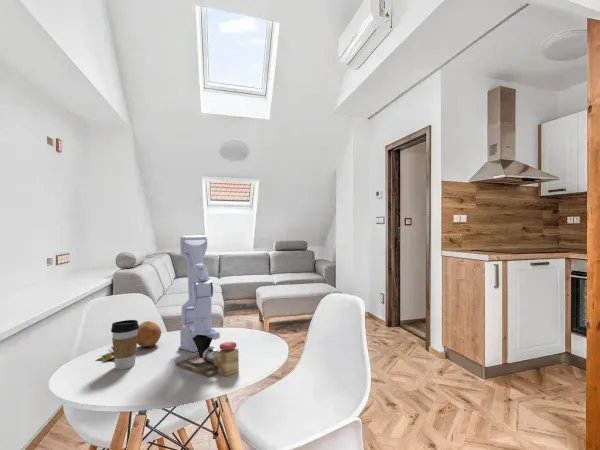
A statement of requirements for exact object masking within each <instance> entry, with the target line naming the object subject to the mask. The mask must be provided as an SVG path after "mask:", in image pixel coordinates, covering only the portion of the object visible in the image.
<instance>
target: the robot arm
mask: <svg viewBox="0 0 600 450" xmlns="http://www.w3.org/2000/svg"><path fill="white" fill-rule="evenodd" d="M179 239H180V240H179V242H180V243H179V245H180V255H181V258H183V259H185V261H186V264H187V267H186V268H187V286H188V287H187V289H188V290H187V292H188V293H187V294H188V299H187V301H185V302H184V303H183V304H182V306H181V315H180V317H181V319H180V320H181V324H182V326H181V329H180V337H179V338H180V340H179V341H180V346H178V348H179V349H182V350H185V351H188V352H191V353H195V352H198V353H197V354H199V356H200V358H202V355H203V351H204V350H205V349H206V348H207V347H209V346H211V343H212V342H213V340H215V341H216V340H218V339H220V336H221V334H220V332H219V331H217V330H215V329H213V327H212V319H213V317H212V298H213V296H214V285H213V281H212V279H211V278H210V276H209V270H208V267H207V265H205V264H204V257H205V255H206V252H207V250H208V237H207V236H206V235H205V234H202V235H182V236H181V237H180V238H179Z"/></svg>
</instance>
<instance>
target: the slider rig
mask: <svg viewBox="0 0 600 450" xmlns="http://www.w3.org/2000/svg"><path fill="white" fill-rule="evenodd" d="M219 349H223V350H220V351H218V353H217V354H216V355H215V357H214V361H213V362H214V363H211V362H209V363H208V362H205V361H204V360H203V358H200V356H199V353H197V354H194V355H192V356H189V357H187V358H184V359H182V360H179V361H177V362H175V364H176V366H177V367H180V368H183V369H185V370H189V371H191V372H194V373H197V374H200V375H203V376H206V377H209V378H211V377H213V376H215V375H216V374H218V375H220V376H223V377H225V378H226V377H229V376H232V375H233V374H236V373H238V372H239V369H240V368H239V365H240V364H239V362H240V361H239V348H237V343H236V342H235V341H226V342H222V343H220V344H219Z"/></svg>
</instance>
